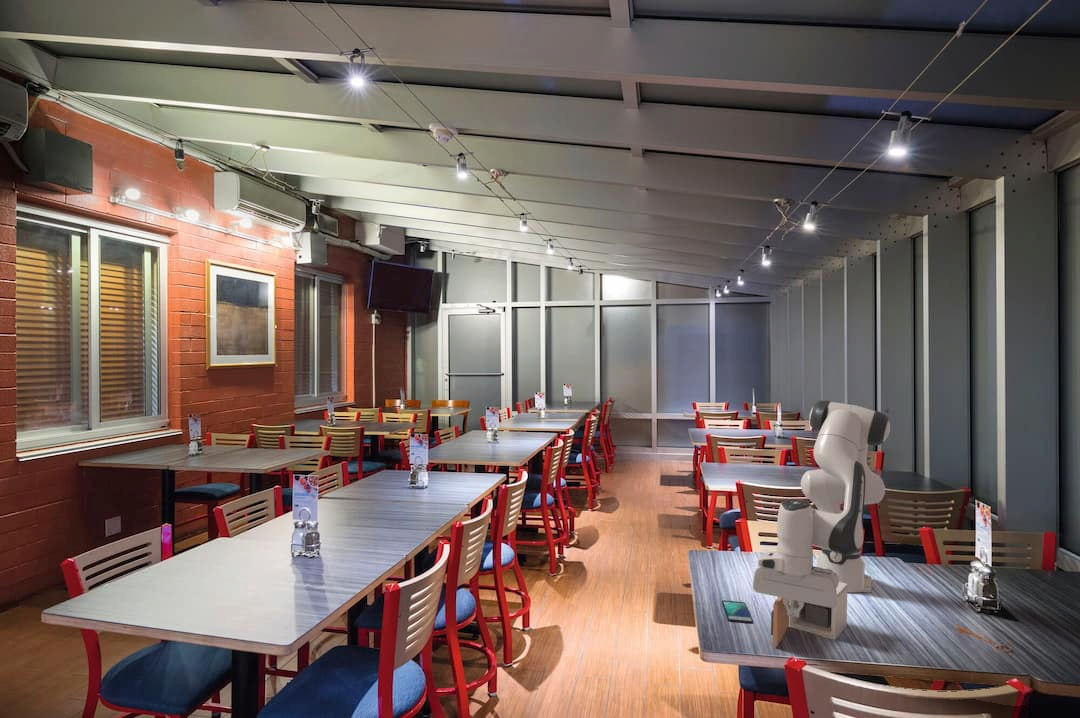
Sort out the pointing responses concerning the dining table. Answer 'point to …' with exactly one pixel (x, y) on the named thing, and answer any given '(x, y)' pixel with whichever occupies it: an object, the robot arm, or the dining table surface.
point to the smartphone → (737, 612)
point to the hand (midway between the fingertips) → (793, 615)
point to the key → (981, 638)
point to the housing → (823, 616)
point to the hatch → (779, 620)
